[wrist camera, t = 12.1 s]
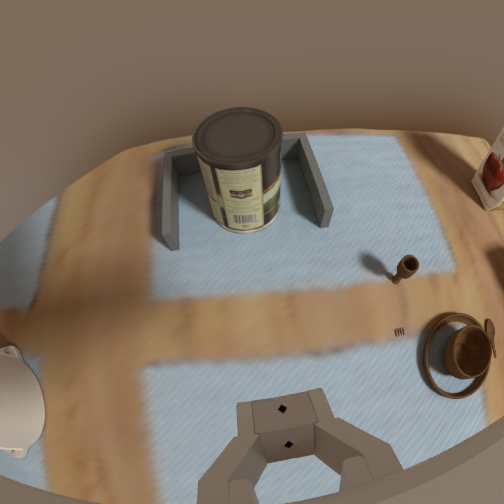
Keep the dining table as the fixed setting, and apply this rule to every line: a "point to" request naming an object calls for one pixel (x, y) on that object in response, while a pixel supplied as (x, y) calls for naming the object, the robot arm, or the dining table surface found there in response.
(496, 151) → the juice carton
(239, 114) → the coffee can
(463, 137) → the dining table surface
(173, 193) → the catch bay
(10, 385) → the robot arm
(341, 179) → the dining table surface
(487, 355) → the place setting
